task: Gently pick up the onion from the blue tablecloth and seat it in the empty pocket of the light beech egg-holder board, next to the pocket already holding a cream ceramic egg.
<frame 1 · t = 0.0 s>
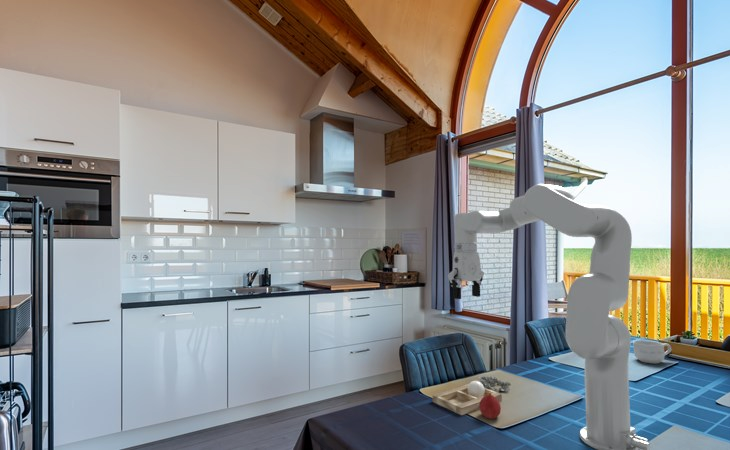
hand: (466, 297, 138), 31 cm above the table, fingers open, 9 cm apart
onion: (490, 421, 112), on the table
grey green leafy sprig: (494, 391, 135), on the table
holder board: (467, 405, 123), on the table
ceramic egg: (476, 397, 125), point 1 cm above the table, touching holder board
teacup: (653, 362, 164), on the table
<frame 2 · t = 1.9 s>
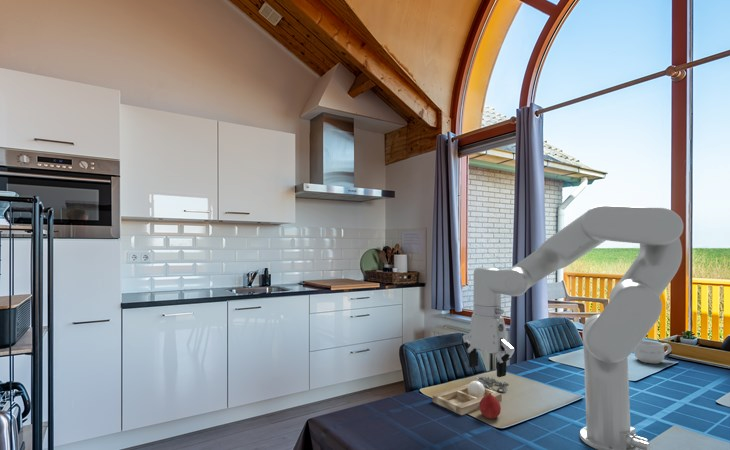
hand: (487, 371, 113), 14 cm above the table, fingers open, 9 cm apart
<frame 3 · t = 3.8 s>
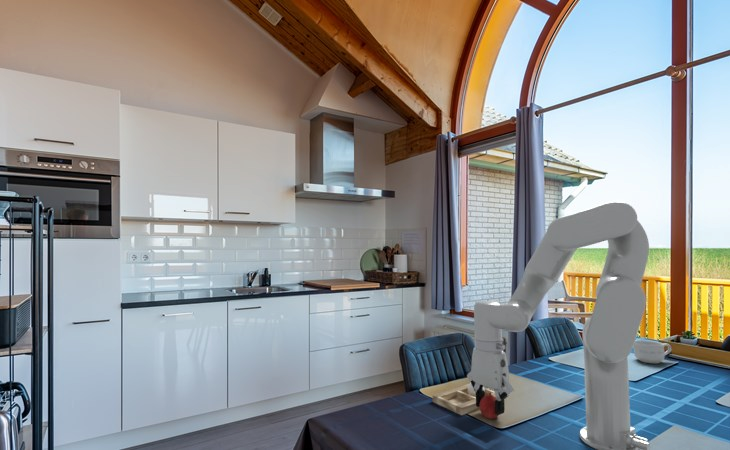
hand: (489, 409, 112), 3 cm above the table, fingers closed on onion, 5 cm apart
onion: (490, 421, 112), on the table, touching gripper
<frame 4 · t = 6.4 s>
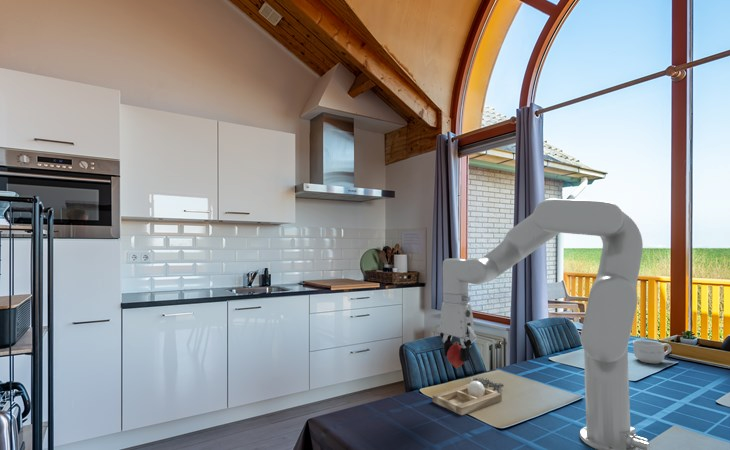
hand: (456, 357, 121), 15 cm above the table, fingers closed on onion, 5 cm apart
onion: (456, 368, 121), point 12 cm above the table, touching gripper
grey green leafy sprig: (486, 393, 134), on the table
everything else where it was.
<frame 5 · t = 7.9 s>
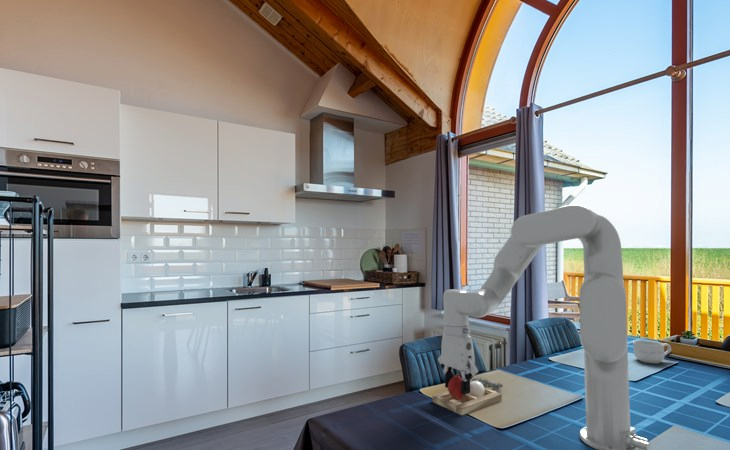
hand: (457, 389, 121), 6 cm above the table, fingers closed on onion, 5 cm apart
onion: (457, 400, 121), point 2 cm above the table, touching gripper
when the fingers open (5 cm above the table, at t = 9.0 s): onion stays where it is, resting on holder board.
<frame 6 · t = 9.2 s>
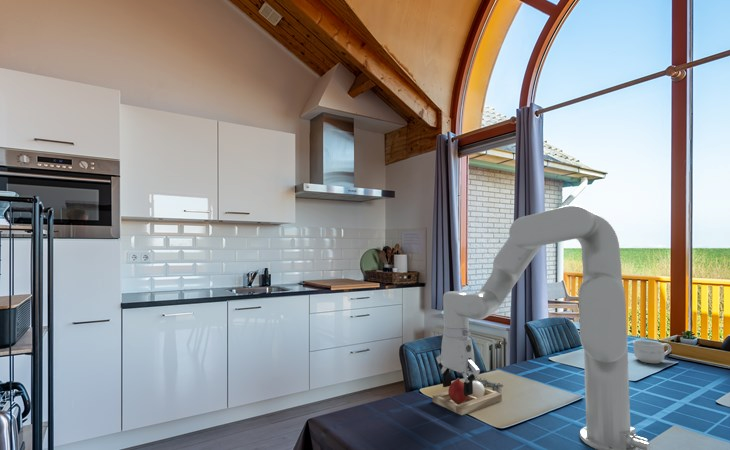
hand: (457, 390, 121), 5 cm above the table, fingers open, 8 cm apart
onion: (458, 405, 120), point 1 cm above the table, touching holder board
everything else where it was.
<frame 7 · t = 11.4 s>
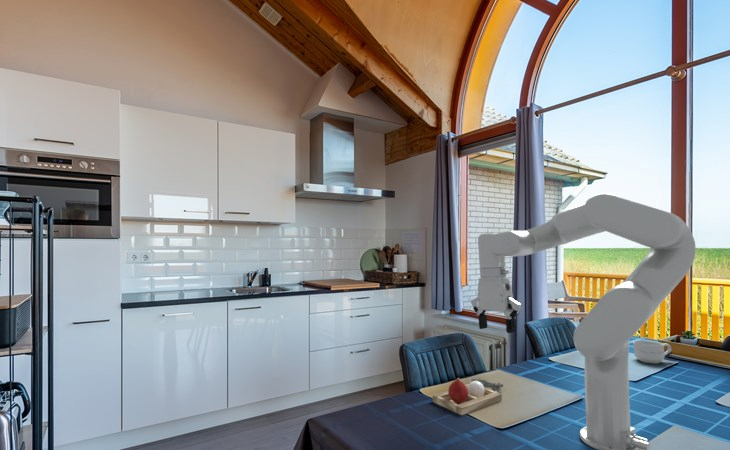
hand: (496, 330, 120), 24 cm above the table, fingers open, 9 cm apart
nothing on the table moved.
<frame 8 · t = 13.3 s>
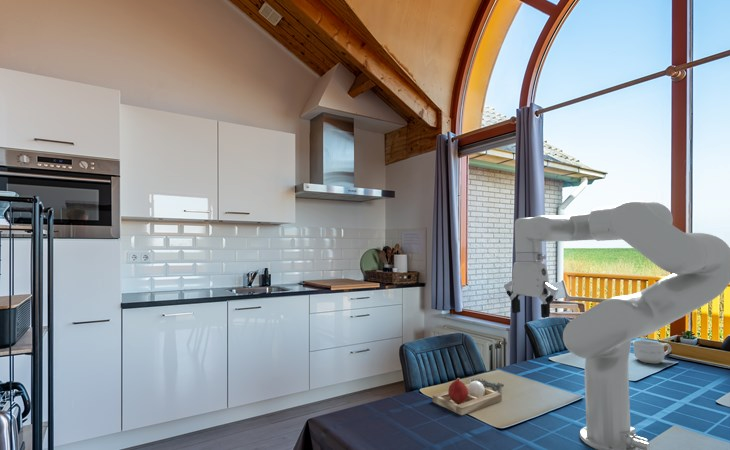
hand: (530, 314, 120), 28 cm above the table, fingers open, 9 cm apart
nothing on the table moved.
at the end: onion 0.2 cm from the target spot on the holder board, point 1.0 cm above the holder board's base; the gripper is holding nothing; ceramic egg moved 0.2 cm from its start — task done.
